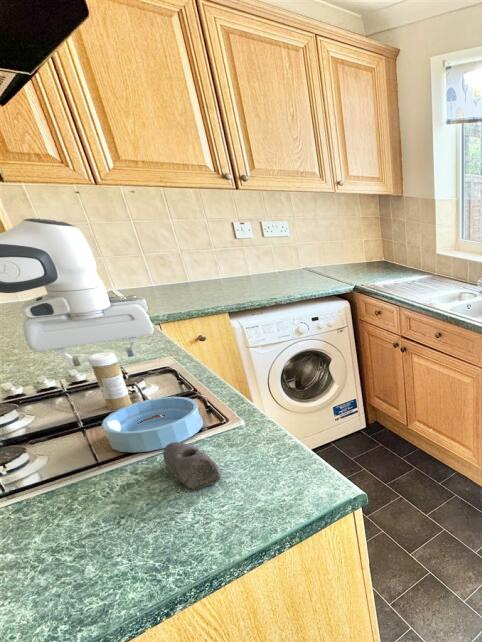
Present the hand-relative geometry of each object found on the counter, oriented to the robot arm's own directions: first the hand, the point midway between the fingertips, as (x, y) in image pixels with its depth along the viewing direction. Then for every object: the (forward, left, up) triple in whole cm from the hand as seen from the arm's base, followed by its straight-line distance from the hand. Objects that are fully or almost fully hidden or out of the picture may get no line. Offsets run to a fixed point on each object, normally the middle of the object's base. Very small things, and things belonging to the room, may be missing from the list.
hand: (105, 360), depth 95 cm
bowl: (+14, -15, -12) cm, 24 cm away
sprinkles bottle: (0, 0, -12) cm, 12 cm away
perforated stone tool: (+26, -32, -12) cm, 43 cm away
